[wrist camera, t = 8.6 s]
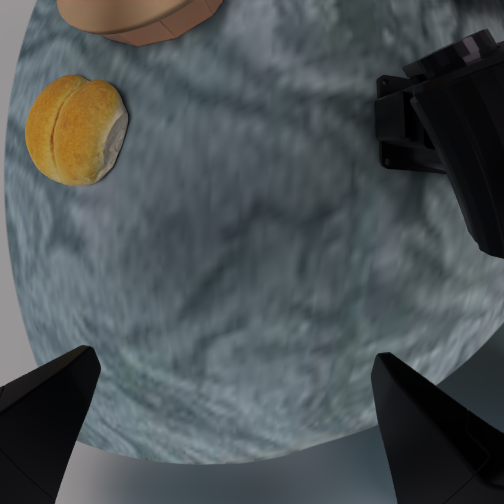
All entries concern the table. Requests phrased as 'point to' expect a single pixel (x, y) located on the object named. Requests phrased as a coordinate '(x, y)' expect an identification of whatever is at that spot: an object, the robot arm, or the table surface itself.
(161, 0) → the lid
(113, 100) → the bread roll
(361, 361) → the table surface
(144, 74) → the table surface
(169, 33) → the bowl
